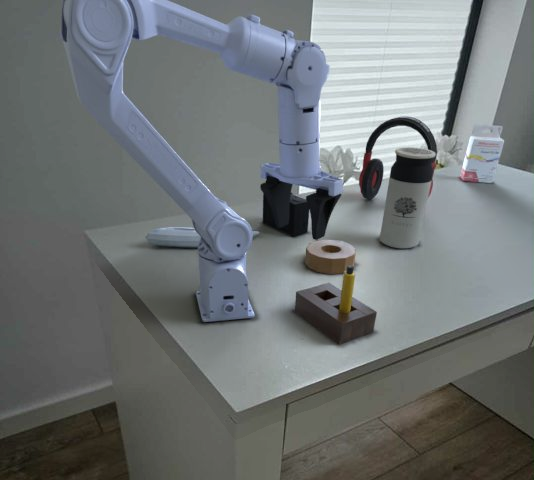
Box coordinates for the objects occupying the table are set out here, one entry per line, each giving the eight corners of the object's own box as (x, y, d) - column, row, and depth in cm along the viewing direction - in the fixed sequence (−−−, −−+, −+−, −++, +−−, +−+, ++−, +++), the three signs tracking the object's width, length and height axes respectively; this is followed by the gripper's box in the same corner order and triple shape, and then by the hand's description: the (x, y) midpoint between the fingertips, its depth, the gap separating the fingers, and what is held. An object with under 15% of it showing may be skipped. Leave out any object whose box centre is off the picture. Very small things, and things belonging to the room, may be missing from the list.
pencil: (349, 330, 73) (358, 268, 67) (339, 331, 73) (347, 269, 67) (345, 325, 74) (353, 263, 69) (335, 326, 74) (343, 264, 68)
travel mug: (386, 232, 107) (401, 145, 97) (422, 240, 104) (442, 150, 94) (373, 243, 102) (388, 152, 92) (411, 252, 98) (430, 158, 88)
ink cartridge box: (463, 181, 144) (476, 127, 136) (459, 177, 148) (472, 124, 140) (493, 183, 143) (508, 128, 135) (489, 178, 147) (503, 125, 139)
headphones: (431, 204, 125) (450, 118, 114) (419, 215, 118) (437, 124, 107) (367, 192, 132) (378, 110, 121) (351, 201, 125) (362, 115, 114)
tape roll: (360, 272, 90) (362, 256, 88) (313, 275, 88) (315, 260, 87) (343, 252, 97) (345, 238, 96) (299, 255, 96) (300, 241, 94)
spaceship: (148, 254, 94) (145, 231, 92) (145, 242, 99) (142, 220, 97) (264, 243, 100) (265, 222, 98) (256, 232, 105) (256, 212, 103)
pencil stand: (339, 344, 70) (342, 323, 68) (294, 311, 77) (295, 291, 75) (373, 332, 73) (377, 311, 71) (326, 301, 80) (328, 282, 78)
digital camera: (312, 231, 107) (314, 199, 103) (293, 237, 104) (295, 204, 100) (280, 218, 113) (282, 187, 109) (262, 223, 110) (263, 191, 106)
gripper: (358, 141, 67) (352, 234, 75) (281, 128, 76) (284, 213, 84) (325, 152, 64) (323, 250, 71) (248, 137, 72) (254, 226, 80)
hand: (300, 231), depth 77 cm, fingers open, 7 cm apart
